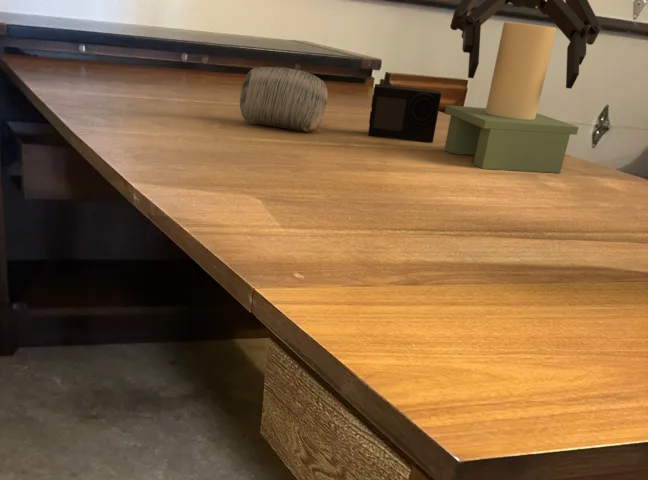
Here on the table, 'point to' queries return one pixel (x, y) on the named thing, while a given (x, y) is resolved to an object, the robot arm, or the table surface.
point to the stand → (508, 140)
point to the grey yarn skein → (283, 98)
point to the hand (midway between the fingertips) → (522, 76)
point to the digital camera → (404, 112)
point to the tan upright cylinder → (520, 70)
